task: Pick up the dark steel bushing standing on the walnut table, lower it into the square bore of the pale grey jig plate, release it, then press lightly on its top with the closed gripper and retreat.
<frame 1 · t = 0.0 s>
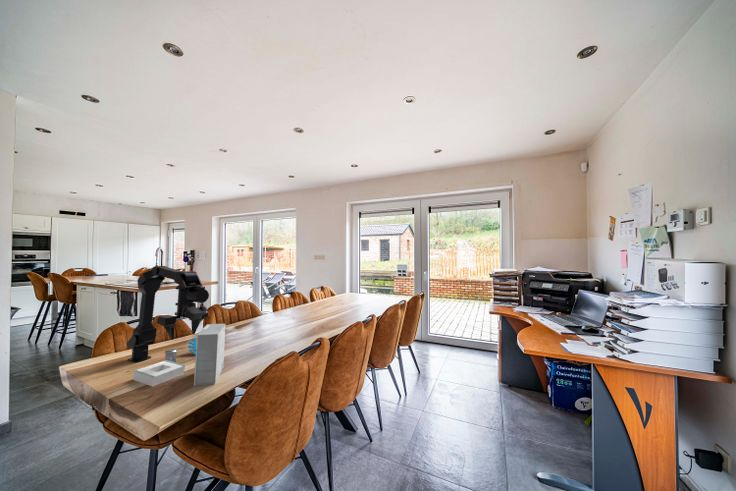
hand: (183, 336, 115), 15 cm above the table, fingers open, 9 cm apart
hard drive box: (209, 377, 111), on the table
bushing: (170, 363, 121), on the table
gear: (199, 353, 136), on the table
jig: (159, 376, 109), on the table
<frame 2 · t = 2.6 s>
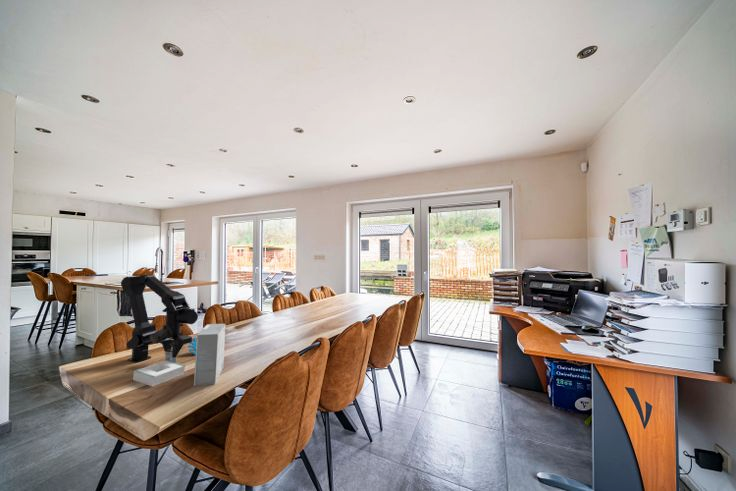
hand: (170, 356, 122), 3 cm above the table, fingers closed on bushing, 4 cm apart
bushing: (170, 363, 121), on the table, touching gripper
everything else where it was.
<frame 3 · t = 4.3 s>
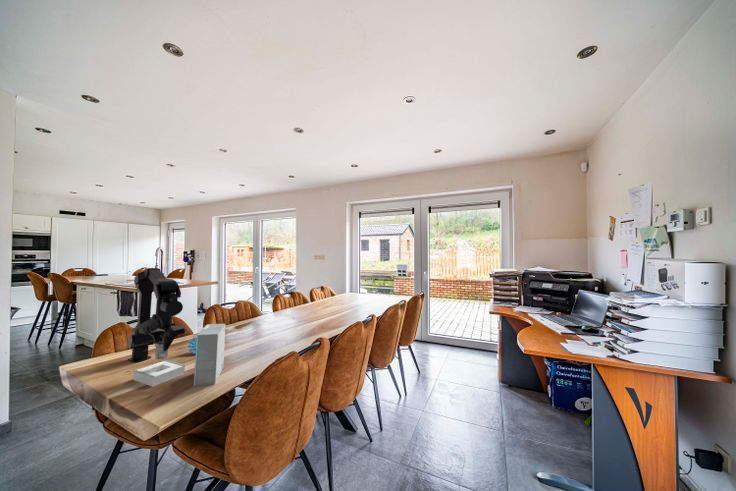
hand: (161, 349, 109), 11 cm above the table, fingers closed on bushing, 4 cm apart
bushing: (161, 357, 109), point 8 cm above the table, touching gripper
everything else where it was.
when the fingers open (4 cm above the table, at t = 6.2 s): bushing stays where it is, resting in jig.
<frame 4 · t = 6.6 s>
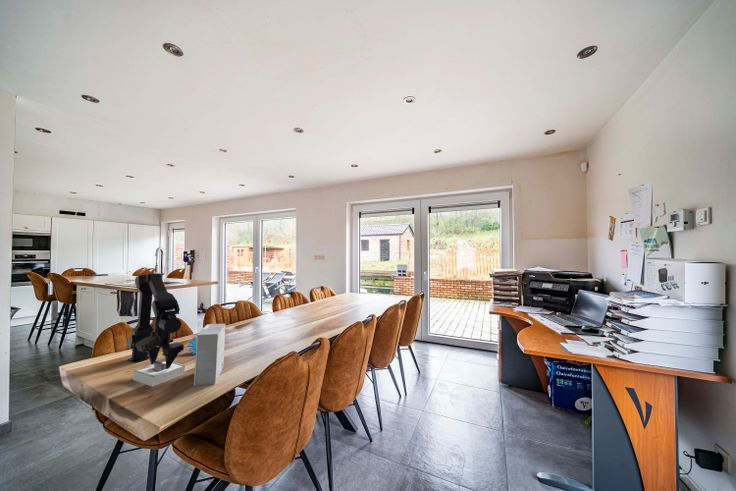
hand: (160, 366, 109), 4 cm above the table, fingers open, 9 cm apart
bushing: (159, 376, 109), resting in jig
everything else where it was.
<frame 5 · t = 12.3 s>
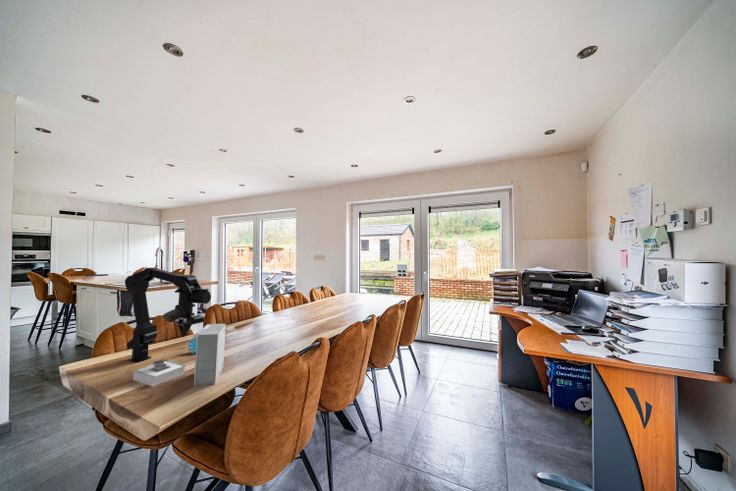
hand: (183, 336, 124), 12 cm above the table, fingers closed
at the end: bushing 0.1 cm off-centre on the jig, point 0.0 cm above the jig's base; bushing tilted 0°; the gripper is holding nothing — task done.
